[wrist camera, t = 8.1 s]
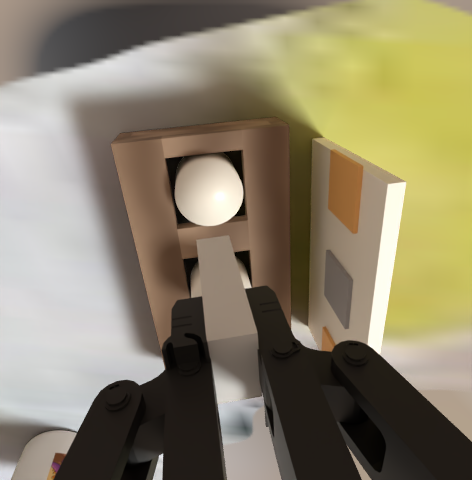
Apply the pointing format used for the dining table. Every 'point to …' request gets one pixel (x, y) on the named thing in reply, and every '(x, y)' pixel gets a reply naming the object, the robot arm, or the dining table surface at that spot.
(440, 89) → the dining table surface
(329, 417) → the robot arm
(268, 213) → the button board
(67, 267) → the dining table surface
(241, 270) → the button
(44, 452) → the milk bottle
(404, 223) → the dining table surface
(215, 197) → the button
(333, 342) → the pattern card
